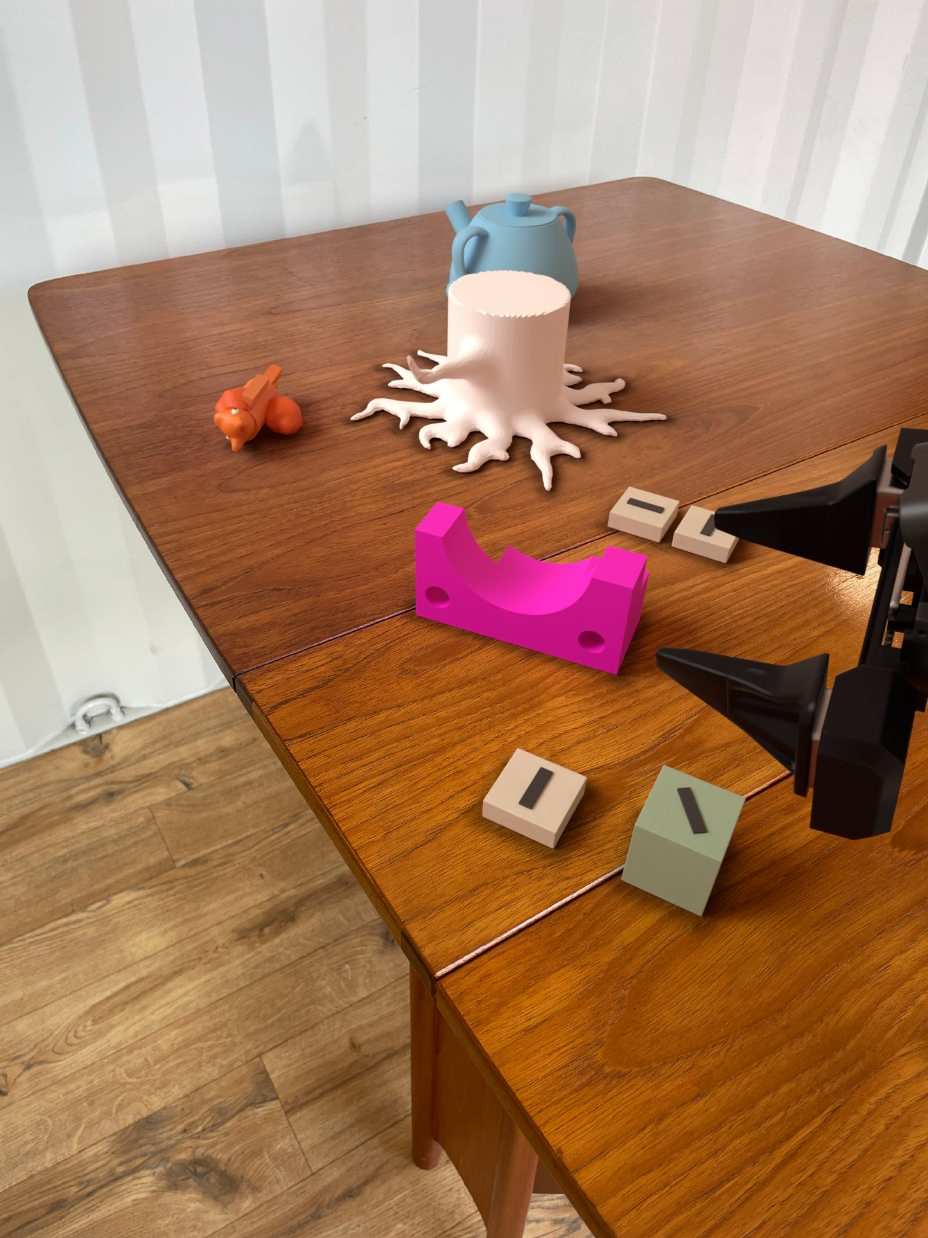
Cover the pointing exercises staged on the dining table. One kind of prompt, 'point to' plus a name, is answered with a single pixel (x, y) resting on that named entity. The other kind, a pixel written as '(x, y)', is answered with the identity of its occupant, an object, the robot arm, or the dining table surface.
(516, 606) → the magenta cradle bracket
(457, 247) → the teapot
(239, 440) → the orange toy bird
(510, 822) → the beige minus sign block
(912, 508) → the robot arm
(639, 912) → the dining table surface
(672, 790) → the green letter i block
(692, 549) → the beige letter tiles
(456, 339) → the tree stump
